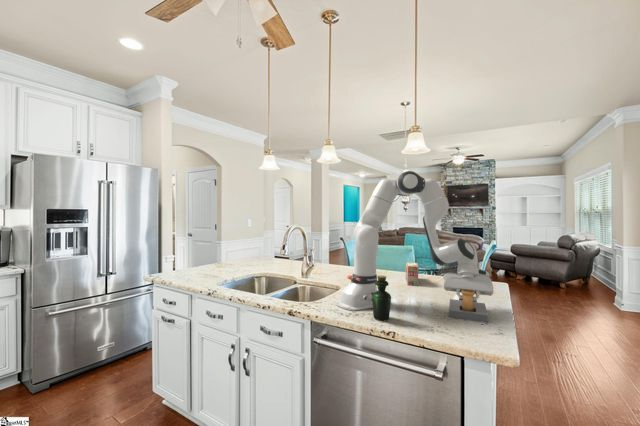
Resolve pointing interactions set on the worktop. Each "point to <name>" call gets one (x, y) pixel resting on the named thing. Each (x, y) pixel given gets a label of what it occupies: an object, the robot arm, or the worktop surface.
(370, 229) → the robot arm
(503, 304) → the worktop surface
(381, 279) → the potion bottle
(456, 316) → the gray peg hole board
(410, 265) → the stack of blocks
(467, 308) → the mushroom head peg
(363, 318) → the worktop surface
